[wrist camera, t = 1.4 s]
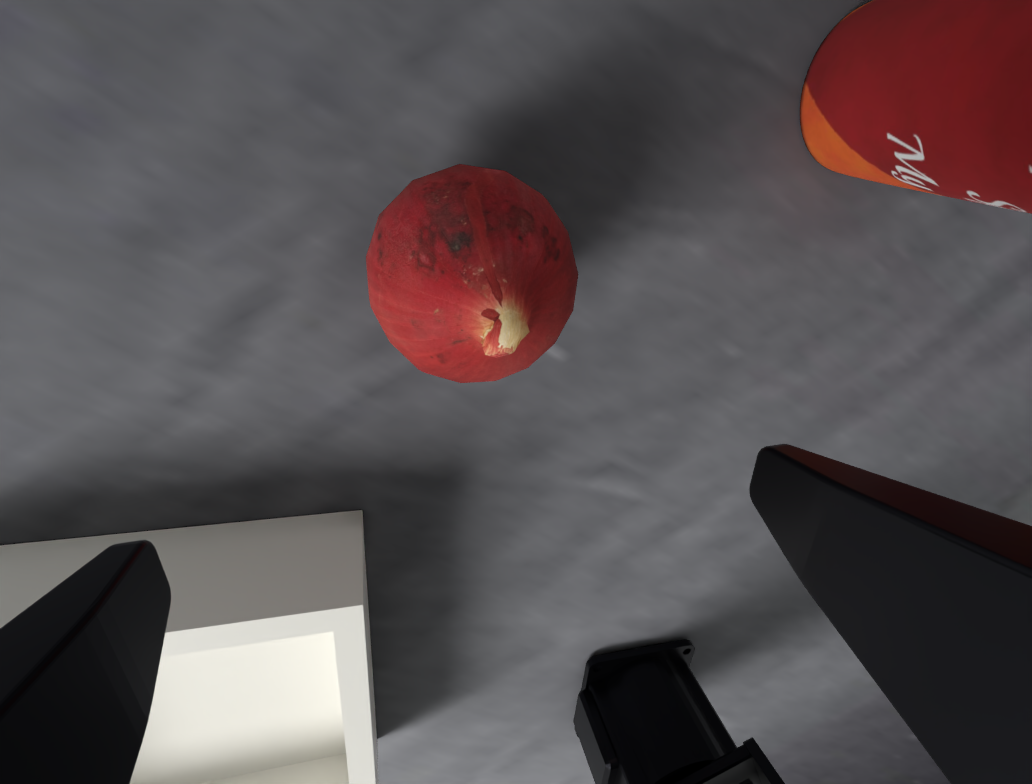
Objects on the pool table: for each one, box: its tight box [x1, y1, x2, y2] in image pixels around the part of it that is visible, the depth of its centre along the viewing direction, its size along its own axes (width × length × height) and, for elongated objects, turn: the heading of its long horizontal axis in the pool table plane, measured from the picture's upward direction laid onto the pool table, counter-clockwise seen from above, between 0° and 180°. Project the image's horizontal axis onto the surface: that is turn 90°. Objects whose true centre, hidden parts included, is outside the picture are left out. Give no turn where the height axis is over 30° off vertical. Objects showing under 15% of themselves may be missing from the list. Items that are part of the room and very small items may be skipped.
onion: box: [366, 164, 578, 383], centre depth 15 cm, size 6×6×8 cm
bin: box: [0, 510, 378, 784], centre depth 21 cm, size 15×15×5 cm
